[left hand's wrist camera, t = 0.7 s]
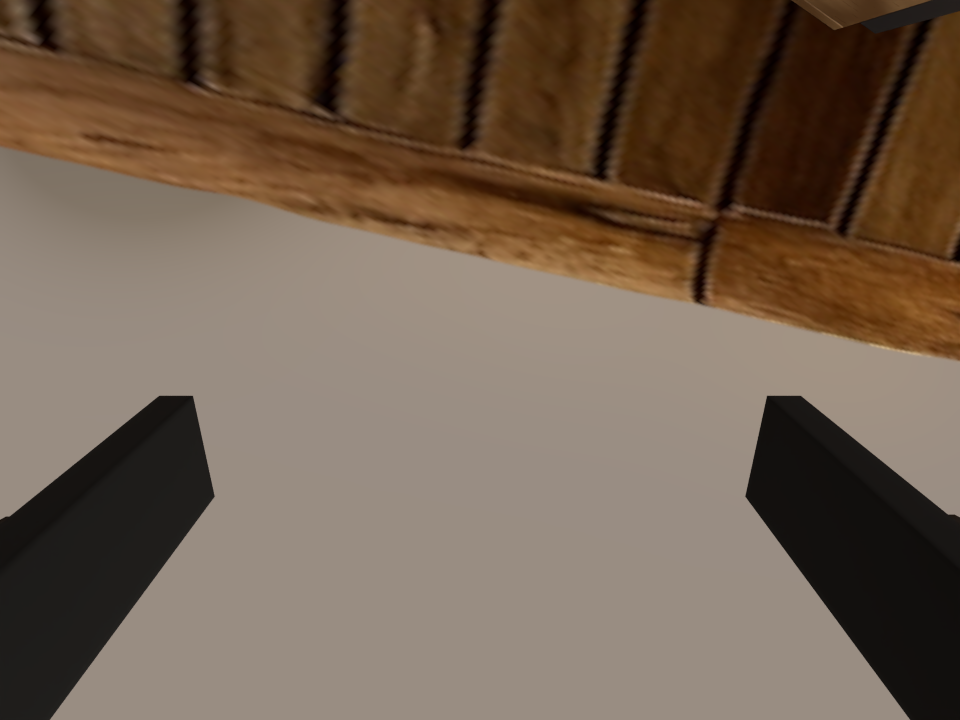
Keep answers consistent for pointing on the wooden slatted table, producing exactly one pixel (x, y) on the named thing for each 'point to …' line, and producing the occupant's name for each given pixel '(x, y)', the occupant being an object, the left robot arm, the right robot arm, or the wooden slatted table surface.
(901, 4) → the cabinet
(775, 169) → the wooden slatted table surface
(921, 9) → the drawer
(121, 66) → the wooden slatted table surface
